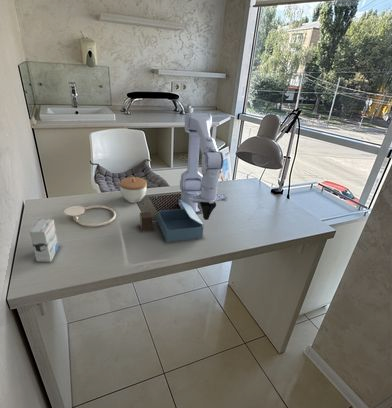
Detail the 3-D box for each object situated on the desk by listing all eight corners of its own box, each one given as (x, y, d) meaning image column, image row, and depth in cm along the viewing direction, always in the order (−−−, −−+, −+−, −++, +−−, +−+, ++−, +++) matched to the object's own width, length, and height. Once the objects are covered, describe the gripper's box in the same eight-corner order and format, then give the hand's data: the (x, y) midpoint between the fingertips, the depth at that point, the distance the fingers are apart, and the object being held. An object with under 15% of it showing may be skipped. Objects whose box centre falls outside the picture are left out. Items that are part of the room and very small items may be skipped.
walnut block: (139, 226, 122) (139, 212, 118) (150, 224, 123) (150, 211, 120) (141, 231, 118) (141, 218, 115) (152, 230, 120) (152, 216, 116)
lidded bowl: (151, 197, 146) (151, 176, 140) (139, 207, 135) (138, 185, 130) (129, 191, 149) (128, 171, 143) (115, 201, 138) (113, 180, 133)
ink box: (44, 246, 105) (38, 218, 99) (59, 247, 105) (54, 218, 99) (35, 261, 97) (28, 232, 91) (51, 262, 98) (44, 232, 92)
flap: (178, 199, 123) (178, 198, 123) (190, 207, 127) (191, 206, 127) (189, 217, 111) (190, 217, 111) (203, 225, 115) (203, 225, 115)
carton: (157, 222, 126) (157, 211, 123) (190, 218, 130) (191, 208, 128) (166, 242, 113) (166, 230, 110) (202, 238, 118) (203, 226, 115)
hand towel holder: (120, 214, 120) (66, 222, 111) (120, 223, 122) (67, 232, 114) (110, 196, 133) (61, 202, 124) (111, 205, 135) (63, 211, 126)
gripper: (193, 191, 98) (190, 225, 105) (232, 189, 103) (227, 222, 110) (187, 183, 104) (185, 216, 111) (224, 181, 109) (220, 213, 115)
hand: (205, 218), depth 111 cm, fingers closed
